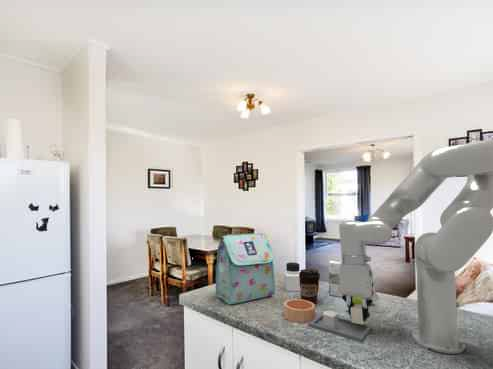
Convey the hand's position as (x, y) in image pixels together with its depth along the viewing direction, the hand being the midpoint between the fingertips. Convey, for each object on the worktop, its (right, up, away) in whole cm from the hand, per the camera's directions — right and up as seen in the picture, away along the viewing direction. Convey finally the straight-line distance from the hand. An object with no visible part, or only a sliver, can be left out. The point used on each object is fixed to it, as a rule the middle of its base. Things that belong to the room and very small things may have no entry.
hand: (358, 318), depth 90 cm
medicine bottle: (-14, -6, +42) cm, 45 cm away
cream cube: (0, -1, 0) cm, 1 cm away
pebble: (-8, -4, +6) cm, 11 cm away
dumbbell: (+8, -5, +18) cm, 21 cm away
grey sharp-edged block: (-9, -4, +1) cm, 9 cm away
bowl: (-17, -5, +10) cm, 20 cm away
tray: (-6, -4, +1) cm, 7 cm away
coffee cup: (-10, -6, +24) cm, 26 cm away
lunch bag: (-36, -6, +31) cm, 48 cm away
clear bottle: (+4, -6, +34) cm, 35 cm away
